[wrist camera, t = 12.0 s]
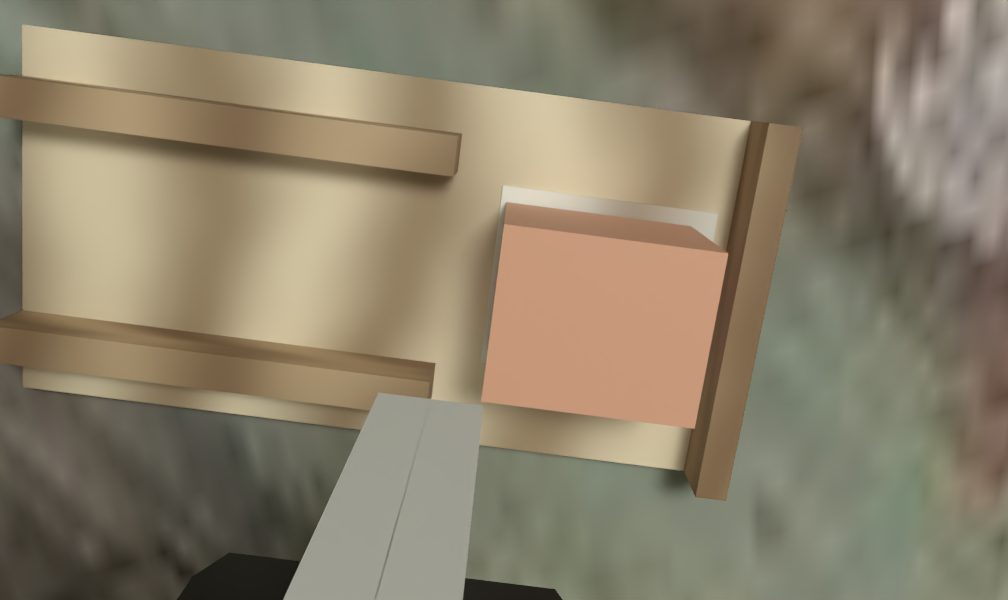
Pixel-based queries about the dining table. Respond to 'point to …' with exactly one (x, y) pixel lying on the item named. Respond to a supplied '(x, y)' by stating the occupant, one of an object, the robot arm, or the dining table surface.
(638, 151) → the chute
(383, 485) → the robot arm
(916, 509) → the dining table surface
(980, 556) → the dining table surface
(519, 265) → the block
